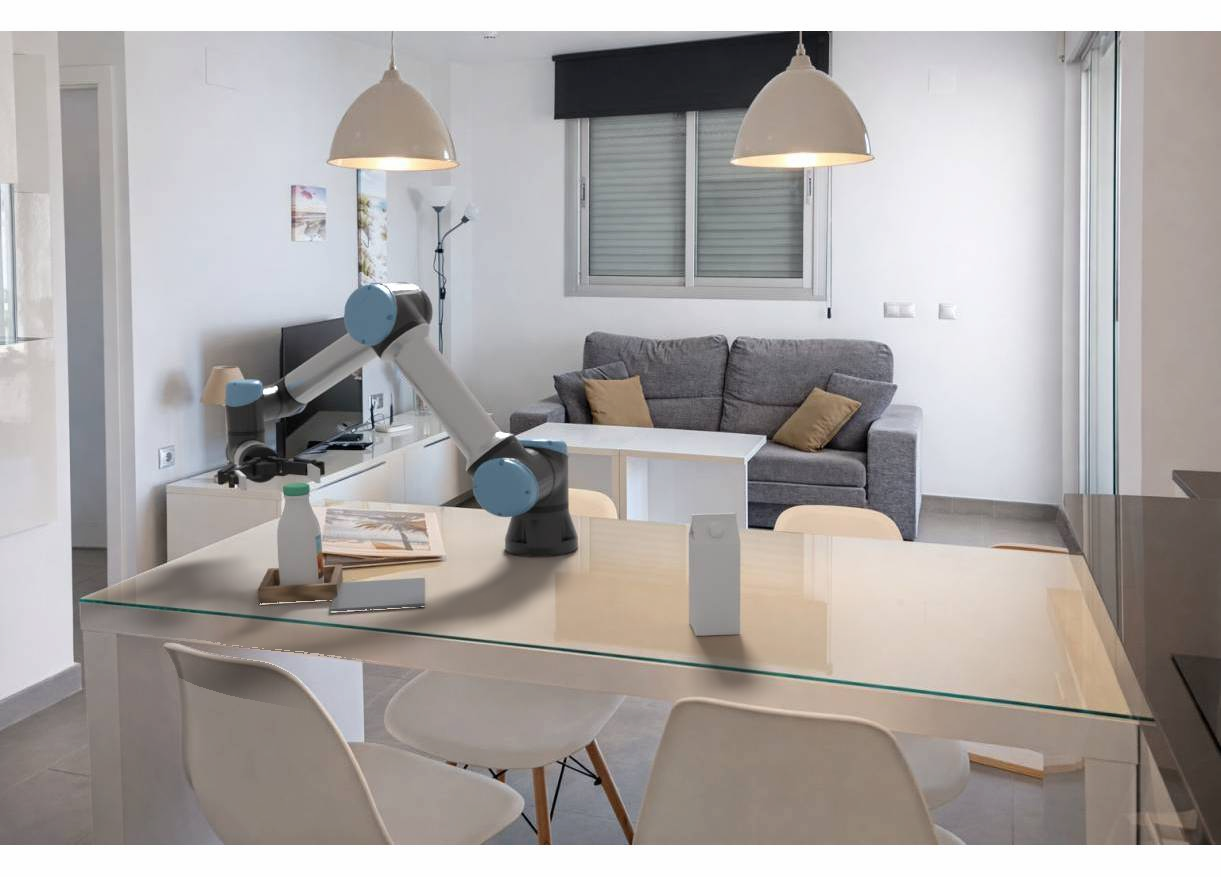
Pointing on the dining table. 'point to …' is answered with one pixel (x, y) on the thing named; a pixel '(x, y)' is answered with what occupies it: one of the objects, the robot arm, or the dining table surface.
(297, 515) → the milk bottle
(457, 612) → the dining table surface
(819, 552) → the dining table surface
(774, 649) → the dining table surface
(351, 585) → the trivet
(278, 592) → the tray
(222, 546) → the dining table surface
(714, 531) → the milk carton
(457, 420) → the robot arm
